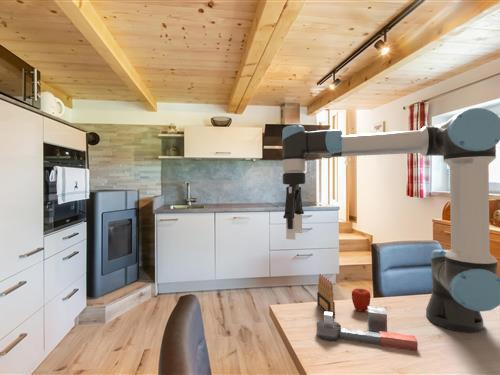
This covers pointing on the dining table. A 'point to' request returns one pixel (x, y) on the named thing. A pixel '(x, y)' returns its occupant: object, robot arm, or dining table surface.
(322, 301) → the ammunition clip
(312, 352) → the dining table surface
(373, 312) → the brushed steel cube
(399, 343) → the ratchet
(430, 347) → the dining table surface
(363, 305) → the apple
